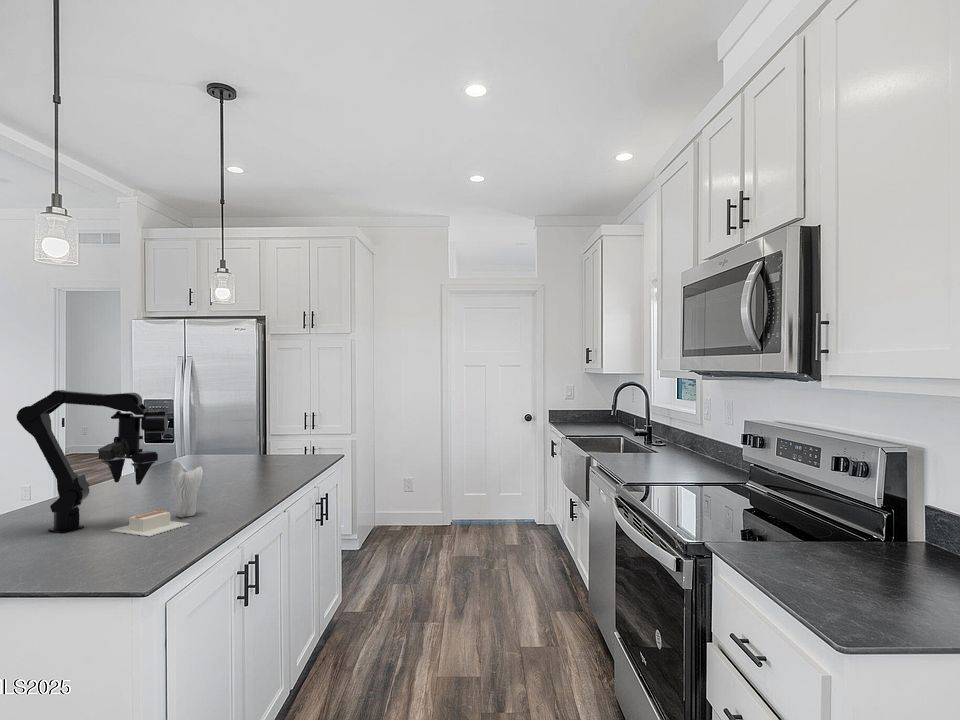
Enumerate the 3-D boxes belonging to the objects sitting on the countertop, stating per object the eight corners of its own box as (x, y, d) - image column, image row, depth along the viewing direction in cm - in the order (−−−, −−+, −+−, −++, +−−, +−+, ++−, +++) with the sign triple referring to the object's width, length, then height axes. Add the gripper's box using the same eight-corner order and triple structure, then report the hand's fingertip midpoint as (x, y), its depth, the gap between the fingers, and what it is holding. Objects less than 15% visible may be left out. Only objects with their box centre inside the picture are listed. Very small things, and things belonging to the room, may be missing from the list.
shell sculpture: (204, 515, 185) (205, 461, 185) (177, 520, 179) (178, 464, 179) (194, 511, 191) (195, 458, 191) (168, 515, 185) (169, 461, 185)
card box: (156, 522, 175) (156, 509, 175) (170, 524, 173) (170, 511, 173) (129, 529, 167) (129, 516, 167) (143, 531, 165) (143, 518, 165)
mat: (109, 531, 166) (109, 530, 166) (151, 520, 179) (151, 518, 179) (149, 537, 161) (149, 535, 161) (189, 524, 174) (189, 523, 174)
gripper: (82, 434, 169) (80, 485, 169) (126, 437, 163) (124, 490, 163) (117, 430, 180) (115, 479, 179) (160, 433, 174) (158, 484, 173)
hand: (127, 483), depth 173 cm, fingers open, 9 cm apart
